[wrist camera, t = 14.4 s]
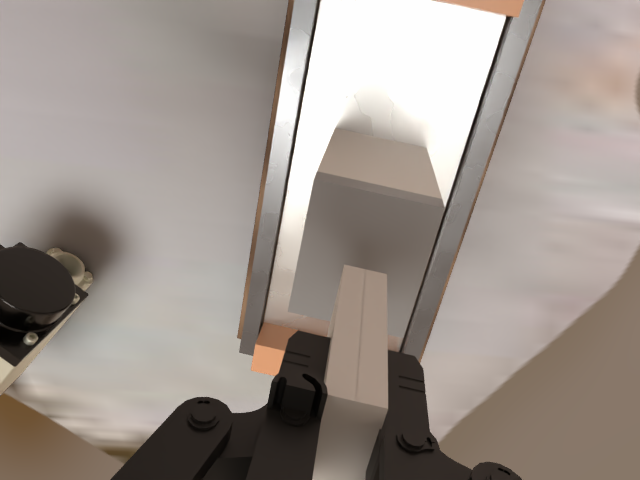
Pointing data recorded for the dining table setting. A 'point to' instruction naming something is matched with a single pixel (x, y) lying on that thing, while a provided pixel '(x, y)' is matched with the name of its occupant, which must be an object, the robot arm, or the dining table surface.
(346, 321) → the robot arm
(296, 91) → the rail board
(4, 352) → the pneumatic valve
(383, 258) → the din module
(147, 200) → the dining table surface
